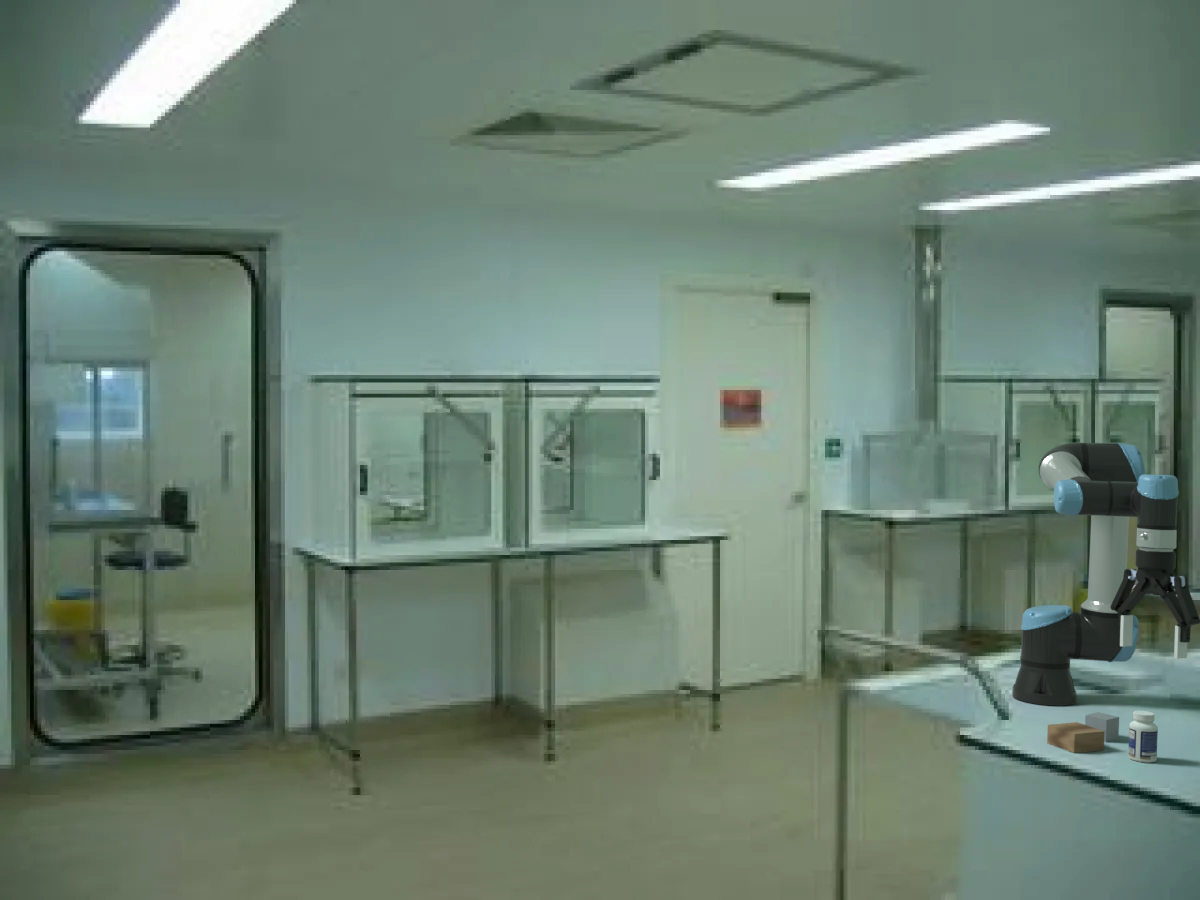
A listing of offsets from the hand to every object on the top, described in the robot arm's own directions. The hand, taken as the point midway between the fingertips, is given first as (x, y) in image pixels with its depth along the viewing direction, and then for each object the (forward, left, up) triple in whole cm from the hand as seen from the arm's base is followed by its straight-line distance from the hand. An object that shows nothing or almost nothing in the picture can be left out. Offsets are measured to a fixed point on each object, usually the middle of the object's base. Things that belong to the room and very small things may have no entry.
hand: (1152, 652), depth 248 cm
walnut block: (-12, -8, -22) cm, 27 cm away
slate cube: (-16, +3, -22) cm, 28 cm away
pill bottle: (0, -2, -23) cm, 23 cm away
